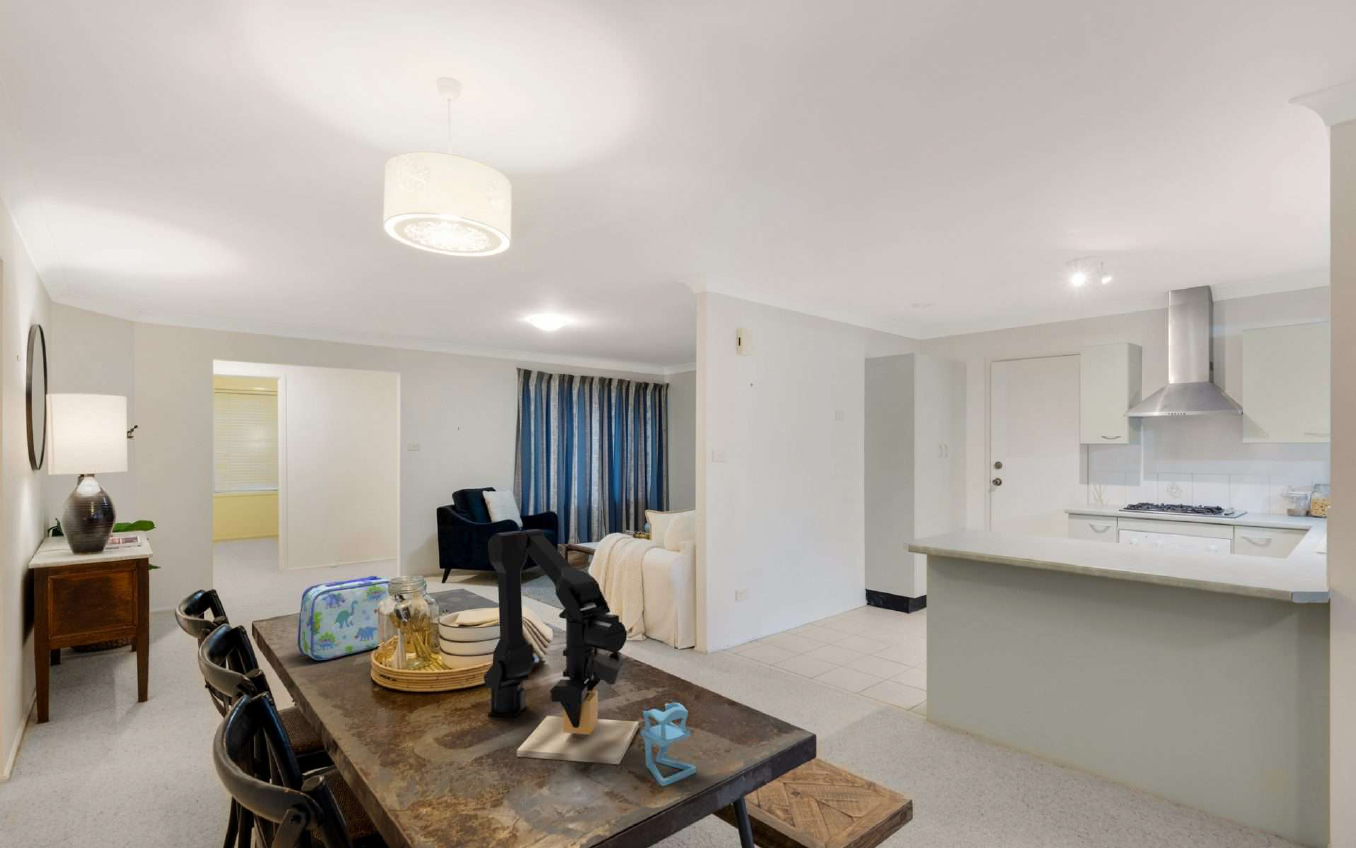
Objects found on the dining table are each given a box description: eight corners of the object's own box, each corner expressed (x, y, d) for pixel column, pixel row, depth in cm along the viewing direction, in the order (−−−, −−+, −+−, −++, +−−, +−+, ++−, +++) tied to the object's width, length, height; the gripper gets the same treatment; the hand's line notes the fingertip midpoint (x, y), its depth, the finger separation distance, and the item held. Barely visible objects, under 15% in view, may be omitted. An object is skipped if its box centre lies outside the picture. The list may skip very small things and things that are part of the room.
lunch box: (385, 637, 203) (385, 569, 204) (402, 643, 197) (403, 573, 197) (294, 659, 183) (295, 583, 184) (310, 666, 176) (311, 588, 177)
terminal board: (517, 756, 124) (517, 728, 124) (547, 721, 140) (547, 697, 140) (619, 764, 121) (618, 735, 121) (638, 727, 136) (638, 702, 137)
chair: (668, 756, 124) (667, 692, 124) (696, 772, 117) (695, 704, 118) (635, 769, 119) (634, 702, 119) (663, 787, 112) (662, 716, 113)
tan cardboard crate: (563, 732, 128) (563, 699, 128) (572, 721, 133) (572, 689, 134) (589, 734, 127) (589, 701, 127) (597, 723, 133) (597, 691, 133)
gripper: (606, 659, 120) (606, 745, 120) (630, 631, 139) (630, 705, 138) (549, 656, 122) (549, 741, 122) (580, 629, 141) (580, 702, 140)
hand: (580, 721), depth 130 cm, fingers closed on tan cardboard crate, 5 cm apart
